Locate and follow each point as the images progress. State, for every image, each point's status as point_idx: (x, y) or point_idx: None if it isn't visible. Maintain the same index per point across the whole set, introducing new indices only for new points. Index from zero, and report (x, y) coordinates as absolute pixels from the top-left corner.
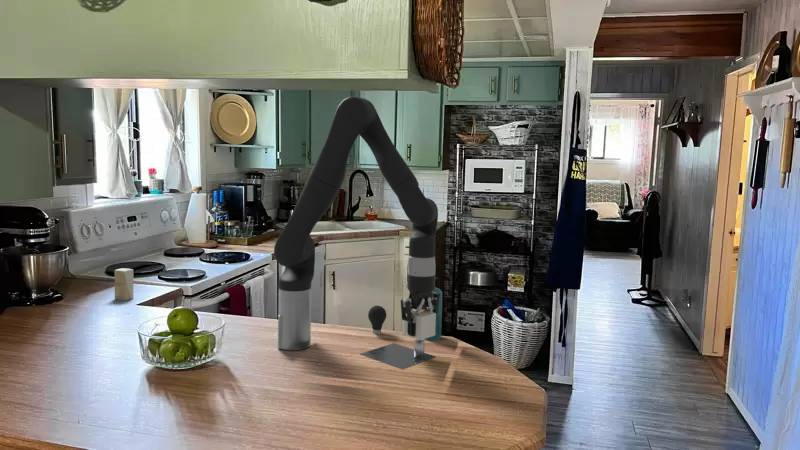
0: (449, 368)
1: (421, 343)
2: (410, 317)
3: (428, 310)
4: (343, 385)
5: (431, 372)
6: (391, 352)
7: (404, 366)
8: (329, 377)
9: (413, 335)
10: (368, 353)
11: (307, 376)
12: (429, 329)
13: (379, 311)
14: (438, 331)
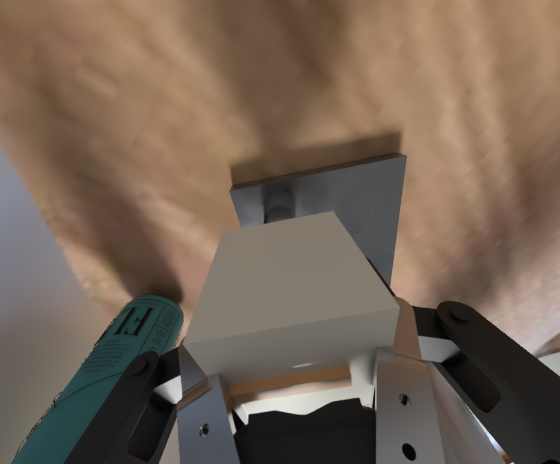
0: (226, 109)
1: None
2: (473, 333)
3: (226, 392)
4: (556, 179)
5: (307, 116)
6: None
7: (380, 174)
8: (518, 237)
9: None
10: None
11: (534, 261)
12: (270, 245)
13: None
14: (130, 315)
